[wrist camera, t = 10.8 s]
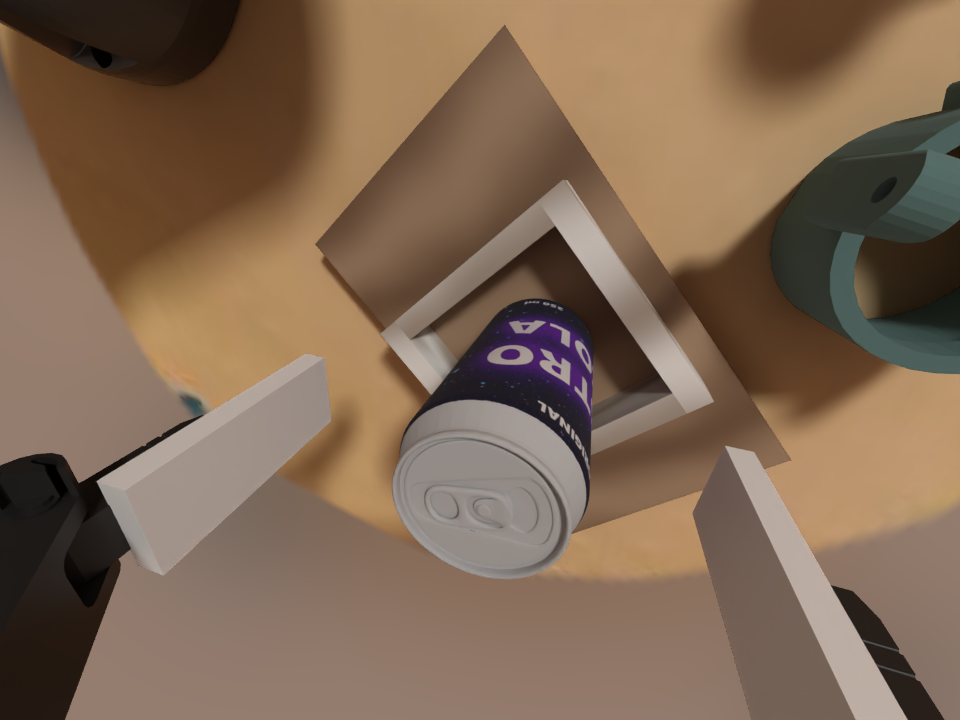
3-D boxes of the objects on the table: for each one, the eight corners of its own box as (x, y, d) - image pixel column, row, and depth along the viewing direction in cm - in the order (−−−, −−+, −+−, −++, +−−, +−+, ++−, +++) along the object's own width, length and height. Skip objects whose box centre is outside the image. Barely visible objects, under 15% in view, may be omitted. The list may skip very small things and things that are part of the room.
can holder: (331, 240, 23) (283, 250, 20) (512, 37, 17) (488, -3, 13) (561, 520, 27) (555, 570, 23) (779, 442, 21) (816, 495, 17)
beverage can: (594, 393, 21) (590, 606, 10) (493, 391, 22) (401, 572, 12) (592, 290, 19) (585, 425, 8) (481, 296, 20) (356, 415, 10)
